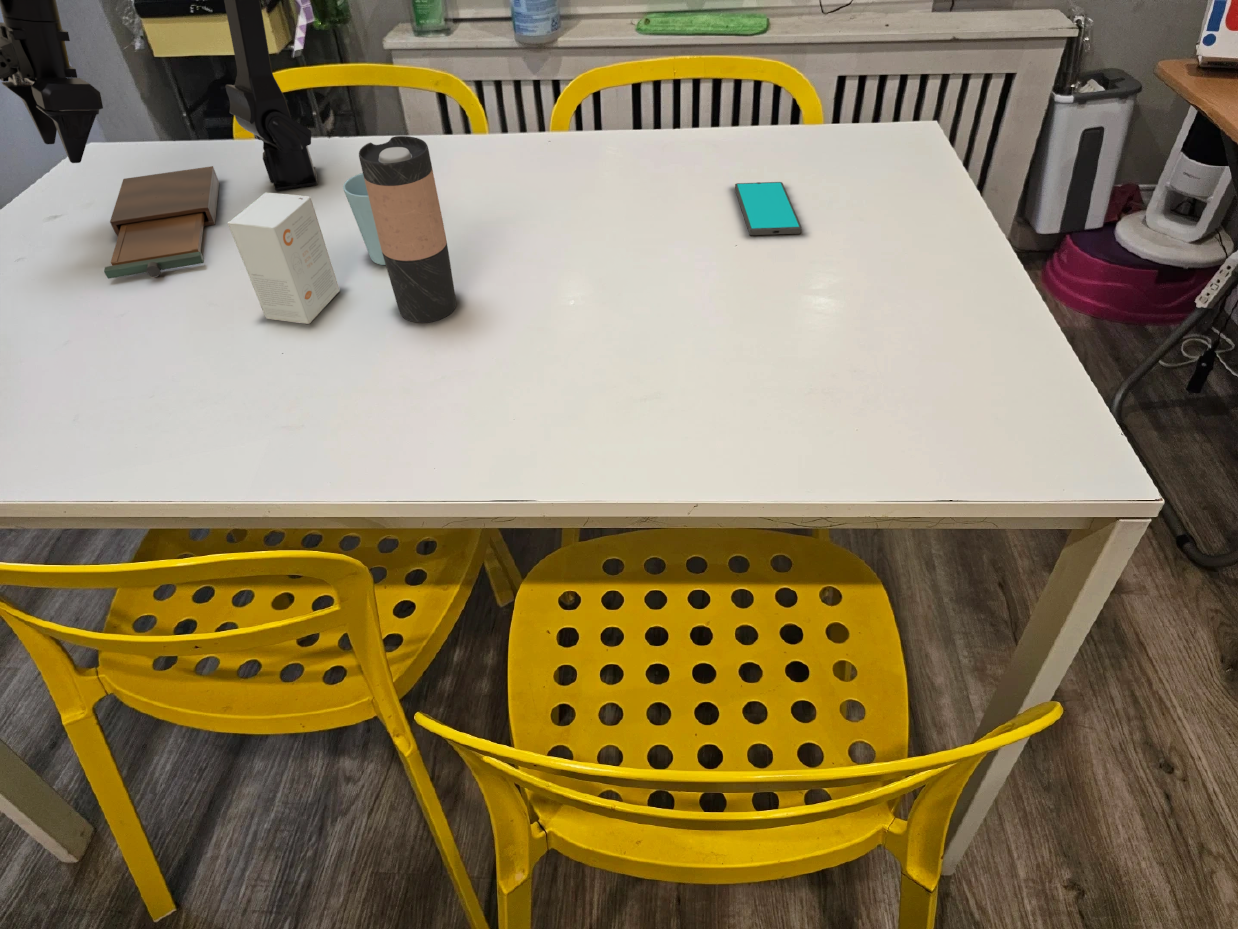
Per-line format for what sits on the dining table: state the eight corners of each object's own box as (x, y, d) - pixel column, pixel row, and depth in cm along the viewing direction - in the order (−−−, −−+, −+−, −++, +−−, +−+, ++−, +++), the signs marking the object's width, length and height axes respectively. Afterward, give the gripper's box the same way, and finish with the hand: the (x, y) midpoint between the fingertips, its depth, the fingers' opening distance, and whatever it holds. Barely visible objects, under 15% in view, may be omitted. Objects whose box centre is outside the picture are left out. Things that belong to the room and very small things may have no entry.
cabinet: (215, 224, 117) (207, 206, 115) (118, 239, 115) (109, 221, 113) (219, 182, 128) (212, 165, 126) (131, 195, 125) (123, 178, 123)
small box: (298, 285, 104) (265, 190, 95) (341, 291, 103) (312, 195, 94) (263, 319, 99) (225, 221, 90) (309, 325, 97) (274, 227, 88)
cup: (415, 268, 107) (399, 194, 100) (358, 271, 107) (337, 197, 99) (422, 240, 112) (406, 168, 105) (368, 243, 112) (348, 171, 105)
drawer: (203, 268, 107) (199, 258, 106) (107, 284, 104) (101, 274, 103) (209, 218, 118) (205, 208, 116) (122, 231, 115) (117, 221, 114)
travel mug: (445, 327, 96) (412, 165, 83) (387, 321, 98) (345, 161, 84) (466, 293, 102) (439, 137, 88) (411, 288, 103) (374, 133, 89)
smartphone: (750, 229, 110) (734, 183, 121) (749, 235, 111) (734, 188, 122) (802, 228, 110) (782, 181, 121) (801, 233, 111) (782, 186, 122)
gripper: (-75, -1, 94) (-35, 137, 103) (-27, 28, 85) (13, 178, 93) (34, 5, 102) (63, 134, 110) (90, 33, 92) (116, 171, 101)
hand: (62, 153), depth 103 cm, fingers open, 9 cm apart
